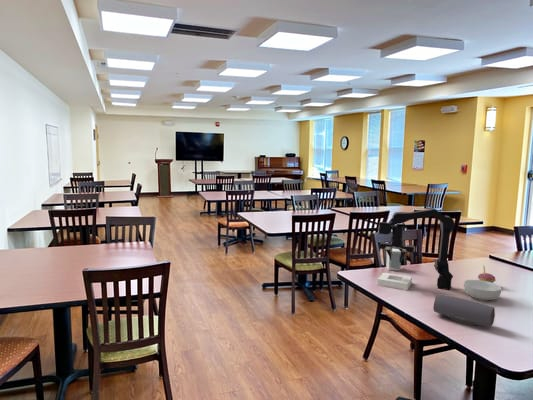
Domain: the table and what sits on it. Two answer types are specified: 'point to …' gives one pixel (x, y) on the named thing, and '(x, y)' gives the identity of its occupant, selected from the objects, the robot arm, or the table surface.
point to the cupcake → (486, 276)
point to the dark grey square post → (395, 260)
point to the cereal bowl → (482, 289)
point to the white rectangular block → (388, 263)
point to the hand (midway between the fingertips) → (396, 262)
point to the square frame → (395, 281)
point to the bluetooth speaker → (464, 310)
